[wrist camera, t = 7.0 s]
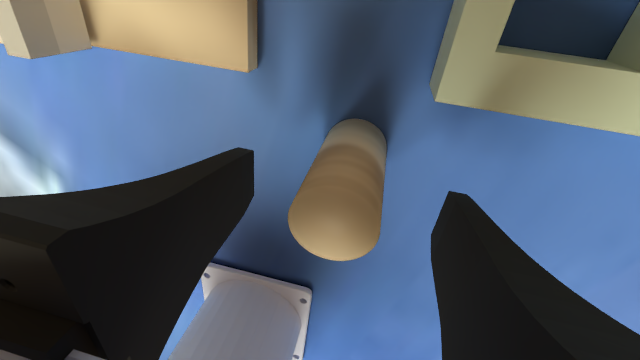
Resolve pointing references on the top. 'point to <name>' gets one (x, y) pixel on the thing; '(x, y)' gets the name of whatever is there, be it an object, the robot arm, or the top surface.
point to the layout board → (177, 29)
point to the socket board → (536, 73)
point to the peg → (342, 193)
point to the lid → (42, 27)
